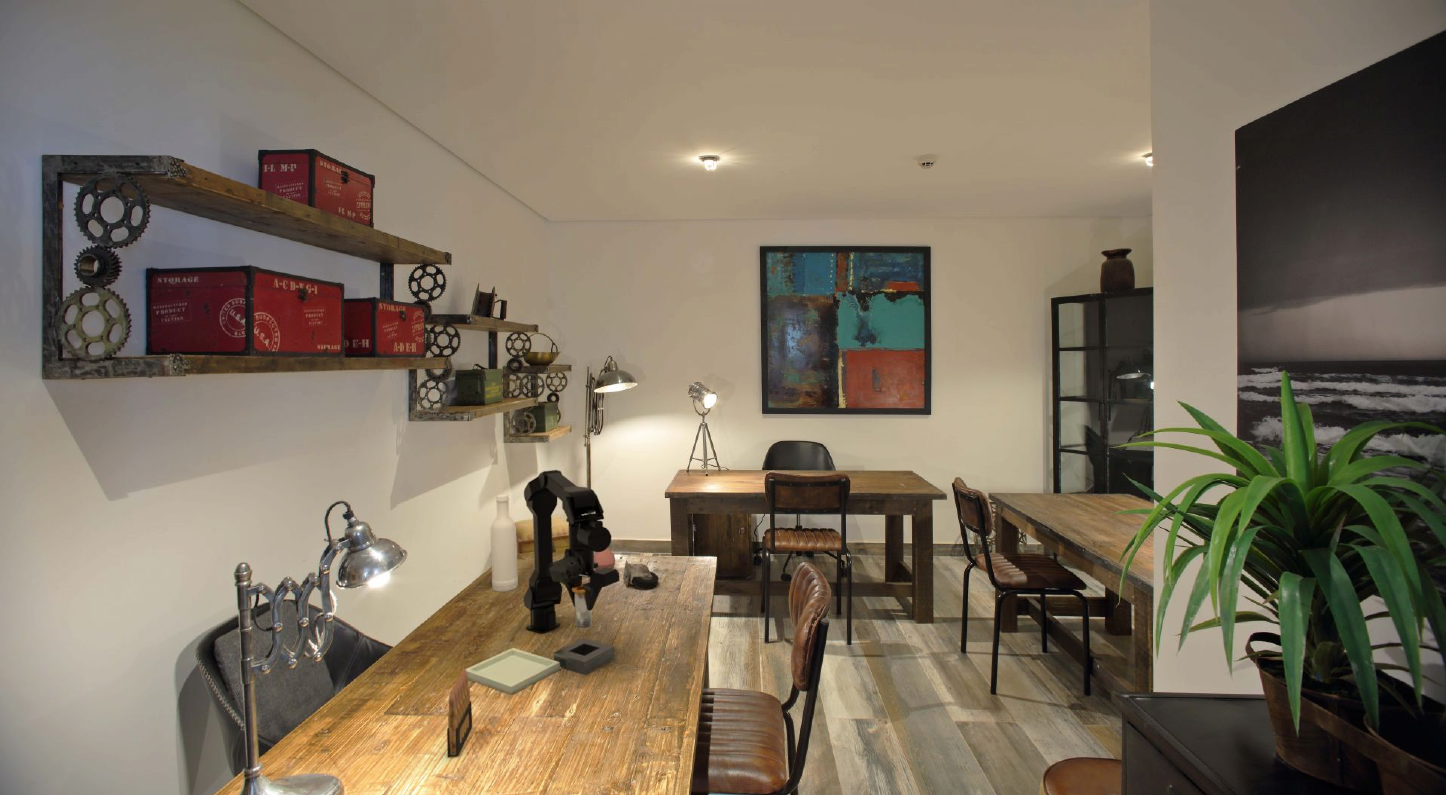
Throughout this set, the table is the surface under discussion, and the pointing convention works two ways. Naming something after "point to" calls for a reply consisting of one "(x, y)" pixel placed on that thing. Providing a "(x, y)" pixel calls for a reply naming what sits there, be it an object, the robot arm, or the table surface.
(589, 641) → the block
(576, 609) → the light grey cylindrical piece
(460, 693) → the ammunition clip
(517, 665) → the tray
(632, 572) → the caster wheel
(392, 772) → the table surface
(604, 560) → the pink vase
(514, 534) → the bottle
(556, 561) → the robot arm
